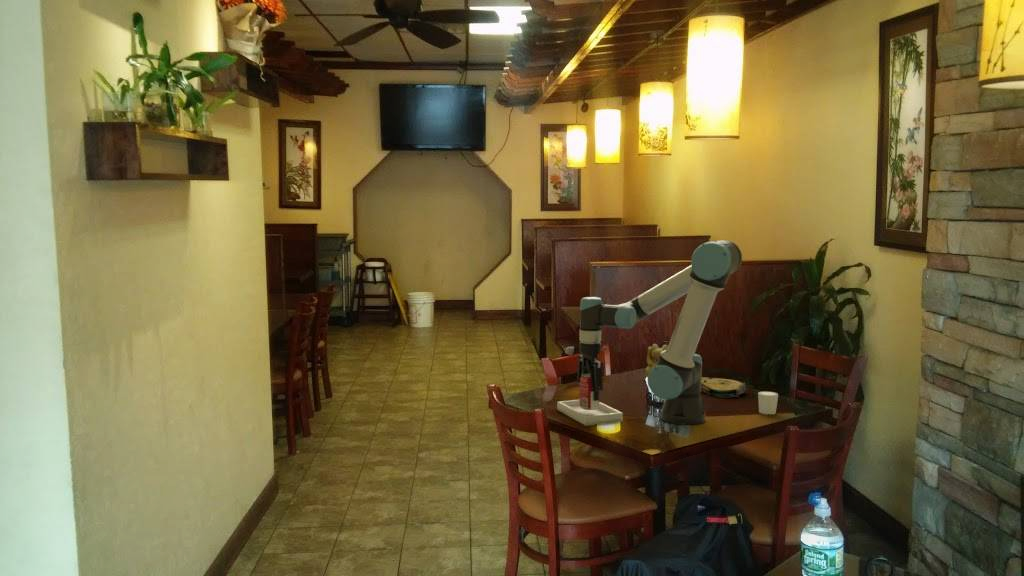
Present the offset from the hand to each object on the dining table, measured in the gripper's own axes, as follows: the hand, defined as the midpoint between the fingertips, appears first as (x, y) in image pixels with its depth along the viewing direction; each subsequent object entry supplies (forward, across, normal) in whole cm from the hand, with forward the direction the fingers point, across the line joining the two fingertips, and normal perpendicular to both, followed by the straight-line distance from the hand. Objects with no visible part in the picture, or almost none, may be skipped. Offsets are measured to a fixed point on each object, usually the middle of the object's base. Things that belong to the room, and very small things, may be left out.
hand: (589, 406), depth 290 cm
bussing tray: (+3, 0, 0) cm, 3 cm away
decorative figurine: (+3, +39, -53) cm, 66 cm away
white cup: (+3, -20, -61) cm, 64 cm away
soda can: (+1, 0, 0) cm, 1 cm away
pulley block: (+4, +15, -62) cm, 64 cm away
